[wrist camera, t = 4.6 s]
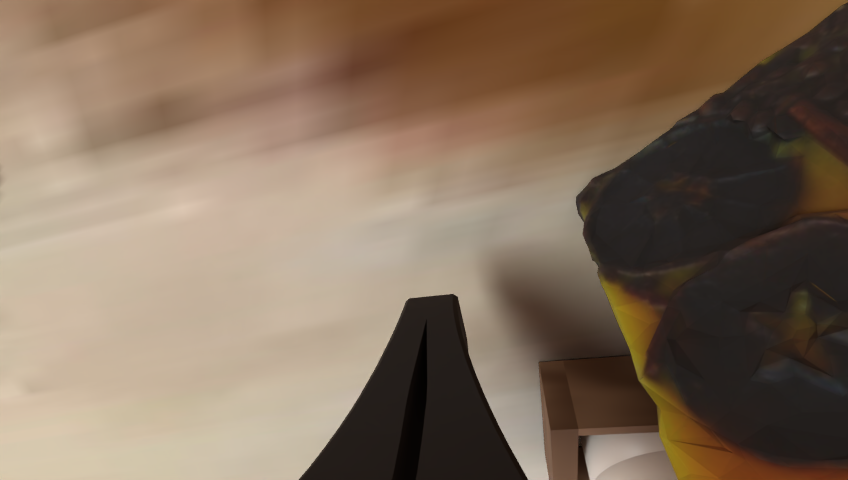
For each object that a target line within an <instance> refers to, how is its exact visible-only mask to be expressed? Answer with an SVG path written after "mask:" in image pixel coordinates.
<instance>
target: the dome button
mask: <svg viewBox="0 0 848 480" xmlns="http://www.w3.org/2000/svg"><path fill="white" fill-rule="evenodd" d="M580 439H581V443H582V448H583V452H584V456H585V461H586V465H587V470H588V474H589V479H590V480H678V479H677V476H676V474H675V472H674V469H673V467H672V464H671V462H670V460H669V457H668V455H667V453H666V450H665V448H664V446H663V443H662V441H661V439H660V436H659V432H652V433H630V434H608V435H586V436H580Z"/></svg>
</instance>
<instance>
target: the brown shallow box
mask: <svg viewBox="0 0 848 480" xmlns="http://www.w3.org/2000/svg"><path fill="white" fill-rule="evenodd" d="M539 373H540V388H541V402H542V416H543V431H544V445H545V456H546V462H547V469H548V475H549V480H590V479H589V474H588V470H587V465H586V461H585V456H584V452H583V448H582V447H578V436H586V435H608V434H630V433H652V432H659V427H658V415H657V405H656V404H655V402H654V401H653V399H652V398H651V397H650V395H649V394H648V393H647V391H646V390H645V388H644V387H643V386H642V384H641V383H640V382H639V380H638V376H637V373H636V369H635V366H634V363H633V359H632V356H617V357H604V358H590V359H576V360H563V361H549V362H539Z"/></svg>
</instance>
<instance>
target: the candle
mask: <svg viewBox="0 0 848 480" xmlns="http://www.w3.org/2000/svg"><path fill="white" fill-rule="evenodd" d="M576 205H577V210H578V214H579V216H580V217H581V219H582V220H583V222H584V229H583V236H584V239H585V241H586V244H587V246H588V248H589V251H590V254H591V257H592V260H593V261H595V262H596V263H597V265H598V266H599V268H598V272H597V273H598V276H599V279H600V282H601V285H602V287H603V289H604V290H605V293H606V295H607V298H608V300H609V303H610V305H611V308H612V310H613V313H614V315H615V318H616V320H617V323H618V325H619V327H620V329H621V332H622V334H623V336H624V338H625V340H626V343H627V345H628V347H629V349H630V353H631V356H632V359H633V363H634V366H635V369H636V373H637V376H638V380H639V382H640V383H641V384H642V386H643V387H644V388H645V390H646V391H647V393H648V394H649V395H650V397H651V398H652V399H653V401H654V402H655V404H656V405H657V415H658V427H659V436H660V439H661V441H662V443H663V446H664V448H665V450H666V453H667V455H668V457H669V460H670V462H671V464H672V467H673V469H674V472H675V474H676V476H677V479H678V480H848V3H846V4H844V5H842V6H840V7H839V8H838V9H837V10H835V11H834V12H833V13H832V14H831V15H829V16H828V17H827V18H826V19H824V20H823V21H822V22H821V23H819V24H818V25H817V26H816V27H814V28H813V29H812V30H811V31H810V32H808V33H807V34H805V35H803V36H802V37H800V38H799V39H797V40H796V41H794V42H793V43H791V44H789V45H788V46H786V47H785V48H783V49H781V50H780V51H778V52H776V53H775V54H773V55H771V56H770V57H768V58H767V59H765V60H763V61H762V62H760V63H759V64H758V65H757V66H755V67H754V68H753V69H752V70H750V71H749V72H748V73H747V74H746V75H744V76H743V77H742V78H741V79H740V80H738V81H737V82H736V83H735V84H734V85H732V86H731V87H730V88H729V89H728V90H726V91H725V92H724V93H720V94H716V95H713V96H712V97H711V98H710V99H709V100H708V101H706V102H705V103H704V104H703V105H702V106H701V107H700V108H699V109H698V110H696V111H695V112H693V113H691V114H689V115H688V116H686V117H684V118H682V119H681V120H679V121H677V123H676V124H675V125H674V126H673V128H671V129H670V130H669V131H667V132H666V133H664V134H663V135H662V136H660V137H659V138H658V139H656V140H655V141H653V142H652V143H651V144H649V145H648V146H647V147H645V148H644V149H643V150H642V151H640V152H639V153H637V154H636V155H634V156H633V157H631V158H630V159H628V160H627V161H625V162H624V163H622V164H621V165H619V166H618V167H616V168H615V169H612V170H610V171H608V172H606V173H604V174H601V175H599V176H597V177H595V178H593V179H592V180H591V181H590V182H589V184H588V185H587V186H586V187H585V188H584V189H583V191H582V192H581V193H580V194H579V195H578V196H577V197H576Z"/></svg>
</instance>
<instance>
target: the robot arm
mask: <svg viewBox="0 0 848 480" xmlns="http://www.w3.org/2000/svg"><path fill="white" fill-rule="evenodd" d="M299 480H528V479H527V477H526V475H525V474H524V472H523V470H522V468H521V466H520V465H519V463H518V461H517V459H516V457H515V456H514V454H513V452H512V450H511V448H510V447H509V445H508V443H507V441H506V439H505V437H504V435H503V433H502V431H501V429H500V427H499V425H498V423H497V421H496V419H495V417H494V415H493V413H492V411H491V409H490V406H489V404H488V402H487V400H486V397H485V395H484V393H483V391H482V388H481V386H480V383H479V381H478V378H477V376H476V373H475V371H474V368H473V365H472V363H471V360H470V357H469V354H468V343H467V337H466V332H465V328H464V323H463V319H462V314H461V310H460V305H459V301H458V297H457V296H455V295H454V294H449V295H439V296H429V297H420V298H410V299H408V300H407V301H406V303H405V306H404V308H403V311H402V313H401V316H400V318H399V321H398V323H397V325H396V327H395V330H394V332H393V334H392V336H391V338H390V341H389V343H388V345H387V347H386V349H385V351H384V353H383V355H382V357H381V359H380V361H379V363H378V364H377V366H376V368H375V370H374V372H373V374H372V375H371V377H370V379H369V381H368V382H367V384H366V386H365V388H364V389H363V391H362V393H361V395H360V396H359V398H358V399H357V401H356V403H355V404H354V406H353V407H352V409H351V411H350V412H349V414H348V415H347V417H346V418H345V420H344V421H343V423H342V424H341V425H340V427H339V428H338V430H337V431H336V433H335V434H334V435H333V437H332V438H331V439H330V441H329V442H328V444H327V445H326V446H325V448H324V449H323V450H322V452H321V453H320V454H319V456H318V457H317V458H316V459H315V461H314V462H313V463H312V465H311V466H310V467H309V468H308V470H307V471H306V472H305V473H304V474H303V475H302V477H301V478H300V479H299Z"/></svg>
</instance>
